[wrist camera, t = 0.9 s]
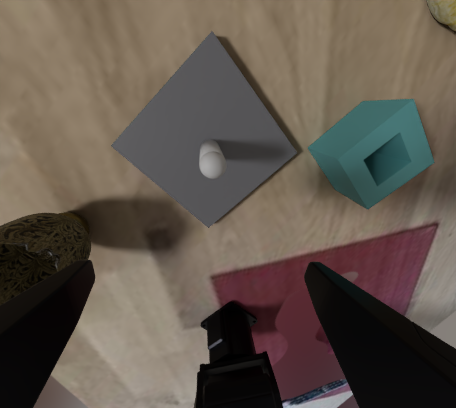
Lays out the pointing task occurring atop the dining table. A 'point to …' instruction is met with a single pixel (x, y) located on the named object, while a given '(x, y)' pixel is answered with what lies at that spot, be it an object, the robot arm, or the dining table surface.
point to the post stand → (206, 135)
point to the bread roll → (444, 11)
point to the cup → (39, 249)
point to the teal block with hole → (374, 150)
